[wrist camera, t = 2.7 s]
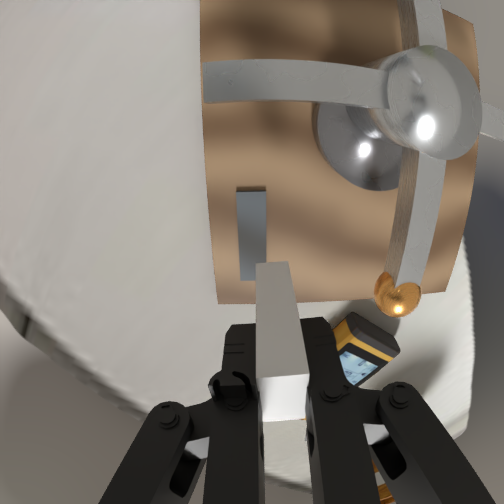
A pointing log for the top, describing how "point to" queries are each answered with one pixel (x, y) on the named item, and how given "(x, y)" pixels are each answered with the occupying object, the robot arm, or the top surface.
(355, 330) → the electronic device
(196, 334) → the top surface
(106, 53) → the top surface
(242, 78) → the capstan
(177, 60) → the top surface
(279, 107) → the wooden board
